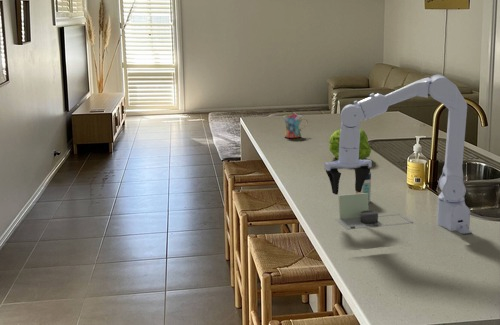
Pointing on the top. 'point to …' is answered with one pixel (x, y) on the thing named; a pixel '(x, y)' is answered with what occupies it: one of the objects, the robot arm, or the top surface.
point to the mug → (293, 125)
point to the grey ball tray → (356, 223)
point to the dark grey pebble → (369, 217)
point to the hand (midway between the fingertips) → (346, 192)
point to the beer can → (366, 186)
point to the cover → (352, 205)
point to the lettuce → (363, 146)
